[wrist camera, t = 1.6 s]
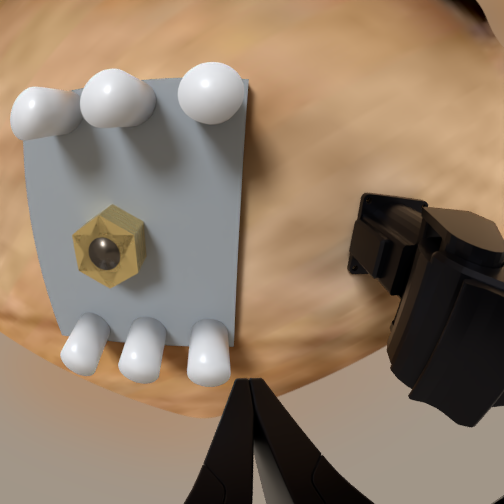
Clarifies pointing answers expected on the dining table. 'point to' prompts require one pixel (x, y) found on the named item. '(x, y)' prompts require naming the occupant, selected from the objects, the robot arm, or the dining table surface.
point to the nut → (110, 246)
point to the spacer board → (141, 212)
